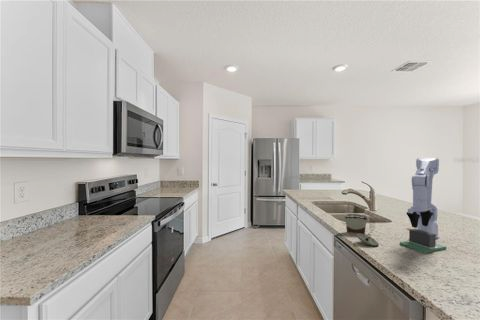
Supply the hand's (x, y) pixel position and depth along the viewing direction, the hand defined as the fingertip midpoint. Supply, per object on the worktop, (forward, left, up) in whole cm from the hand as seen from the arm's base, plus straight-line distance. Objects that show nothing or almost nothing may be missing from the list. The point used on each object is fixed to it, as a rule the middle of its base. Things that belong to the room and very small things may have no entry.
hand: (419, 226), depth 122 cm
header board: (+1, +2, -9) cm, 9 cm away
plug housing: (+1, 0, -8) cm, 8 cm away
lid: (+23, -11, -10) cm, 27 cm away
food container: (+13, -28, -10) cm, 33 cm away
